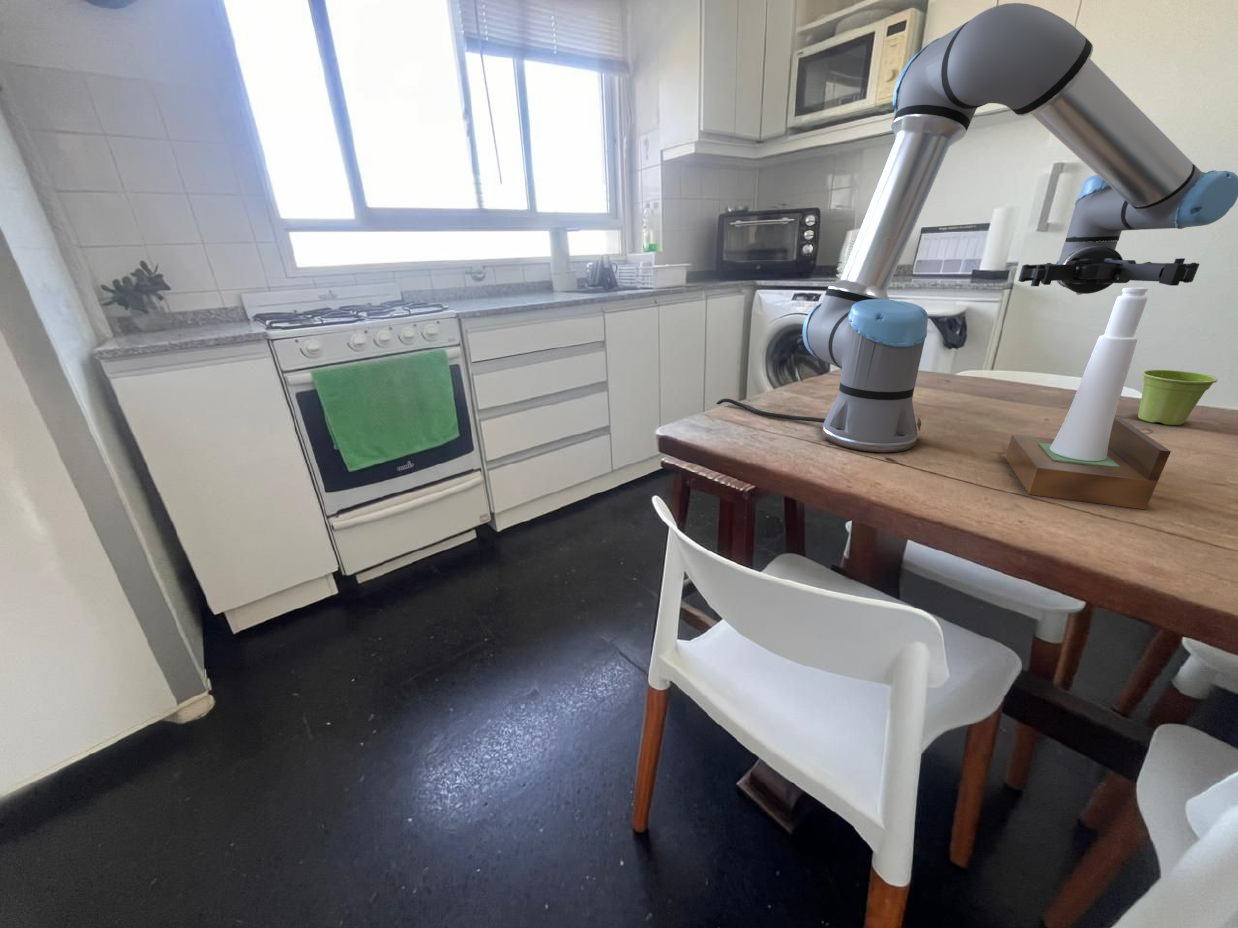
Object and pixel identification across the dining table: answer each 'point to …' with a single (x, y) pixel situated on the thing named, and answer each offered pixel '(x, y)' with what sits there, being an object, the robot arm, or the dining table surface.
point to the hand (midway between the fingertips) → (1110, 275)
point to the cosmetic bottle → (1102, 383)
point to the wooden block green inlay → (1092, 469)
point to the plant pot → (1171, 395)
